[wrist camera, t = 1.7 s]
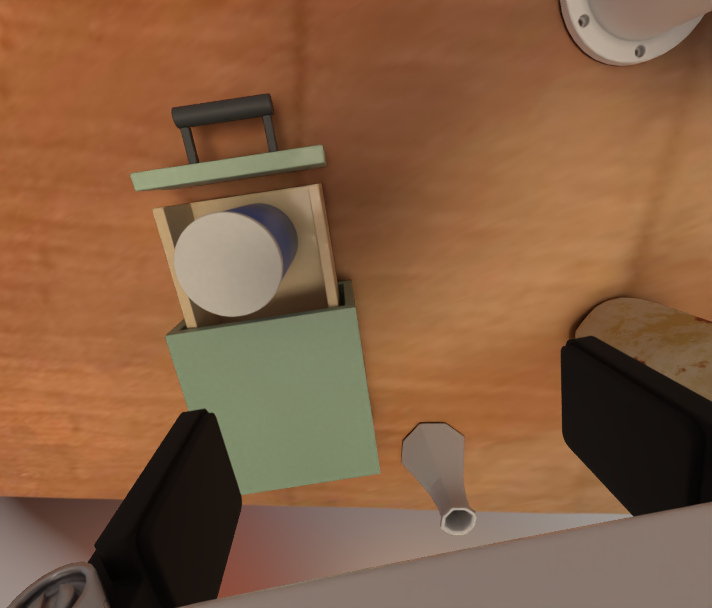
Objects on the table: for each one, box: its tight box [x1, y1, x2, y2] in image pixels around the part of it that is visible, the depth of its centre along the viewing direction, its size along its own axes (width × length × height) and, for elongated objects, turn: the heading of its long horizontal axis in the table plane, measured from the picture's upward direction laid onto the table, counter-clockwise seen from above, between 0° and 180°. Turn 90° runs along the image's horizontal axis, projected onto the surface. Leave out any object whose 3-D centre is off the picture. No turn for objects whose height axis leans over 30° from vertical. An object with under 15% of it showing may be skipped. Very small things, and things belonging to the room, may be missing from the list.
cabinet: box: [165, 280, 381, 495], centre depth 36 cm, size 16×15×9 cm
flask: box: [401, 424, 477, 535], centre depth 39 cm, size 7×7×10 cm
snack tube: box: [174, 203, 298, 317], centre depth 29 cm, size 6×6×11 cm
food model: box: [575, 297, 712, 401], centre depth 31 cm, size 10×7×20 cm
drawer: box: [130, 93, 341, 329], centre depth 32 cm, size 19×13×7 cm
